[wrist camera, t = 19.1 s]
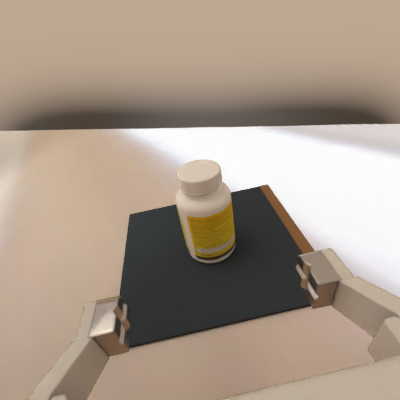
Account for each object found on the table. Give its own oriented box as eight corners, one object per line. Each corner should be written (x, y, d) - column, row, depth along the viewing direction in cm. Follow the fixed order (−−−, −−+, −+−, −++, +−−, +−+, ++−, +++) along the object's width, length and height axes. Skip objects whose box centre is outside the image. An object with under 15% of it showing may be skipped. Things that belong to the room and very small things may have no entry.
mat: (113, 351, 21) (112, 349, 20) (130, 216, 35) (129, 214, 35) (345, 297, 21) (345, 295, 21) (267, 186, 36) (267, 184, 36)
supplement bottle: (246, 243, 27) (241, 165, 22) (210, 274, 25) (194, 195, 19) (212, 222, 31) (200, 150, 25) (178, 247, 28) (156, 174, 23)
